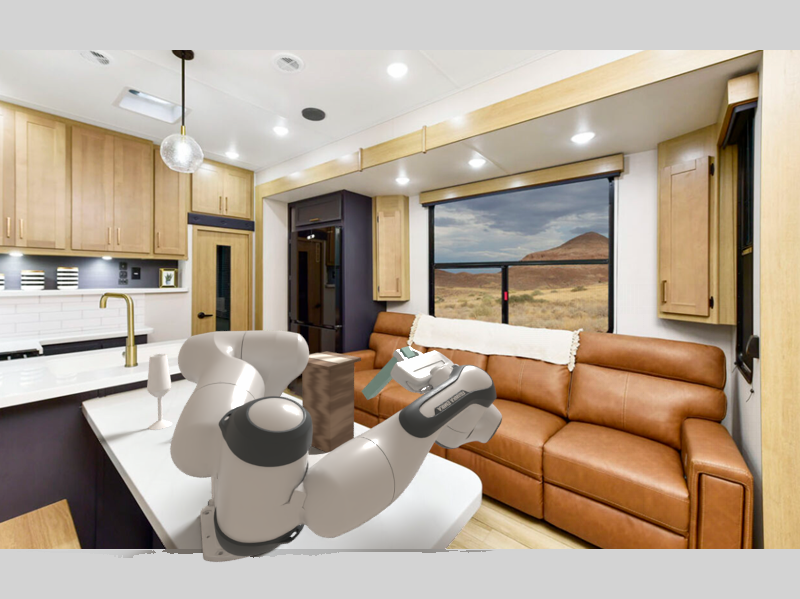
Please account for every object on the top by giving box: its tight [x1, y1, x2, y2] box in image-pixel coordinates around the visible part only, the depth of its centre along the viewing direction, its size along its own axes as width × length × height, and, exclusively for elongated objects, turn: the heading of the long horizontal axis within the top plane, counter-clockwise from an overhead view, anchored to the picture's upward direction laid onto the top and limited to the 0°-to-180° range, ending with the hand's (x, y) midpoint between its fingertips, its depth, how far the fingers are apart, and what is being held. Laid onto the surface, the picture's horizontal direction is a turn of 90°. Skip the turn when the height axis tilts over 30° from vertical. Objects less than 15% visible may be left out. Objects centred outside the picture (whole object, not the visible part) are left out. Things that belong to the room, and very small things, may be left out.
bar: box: [361, 345, 415, 401], centre depth 94 cm, size 19×4×3 cm
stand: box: [301, 351, 362, 453], centre depth 107 cm, size 15×14×26 cm
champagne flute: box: [146, 353, 173, 431], centre depth 117 cm, size 7×7×24 cm
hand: (400, 350), depth 91 cm, fingers closed on bar, 3 cm apart
